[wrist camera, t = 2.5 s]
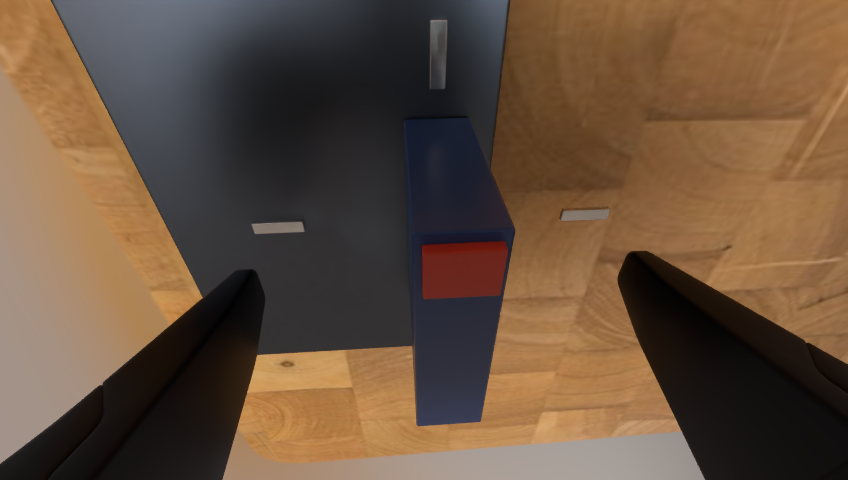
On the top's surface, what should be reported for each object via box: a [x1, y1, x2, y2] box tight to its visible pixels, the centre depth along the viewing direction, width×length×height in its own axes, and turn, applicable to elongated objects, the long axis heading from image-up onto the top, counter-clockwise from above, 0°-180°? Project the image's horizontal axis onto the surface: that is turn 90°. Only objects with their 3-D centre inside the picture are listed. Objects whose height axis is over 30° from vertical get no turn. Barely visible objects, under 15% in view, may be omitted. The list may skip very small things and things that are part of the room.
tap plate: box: [51, 0, 610, 355], centre depth 12 cm, size 12×13×3 cm
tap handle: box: [403, 118, 515, 426], centre depth 9 cm, size 6×2×5 cm, turn 0°
